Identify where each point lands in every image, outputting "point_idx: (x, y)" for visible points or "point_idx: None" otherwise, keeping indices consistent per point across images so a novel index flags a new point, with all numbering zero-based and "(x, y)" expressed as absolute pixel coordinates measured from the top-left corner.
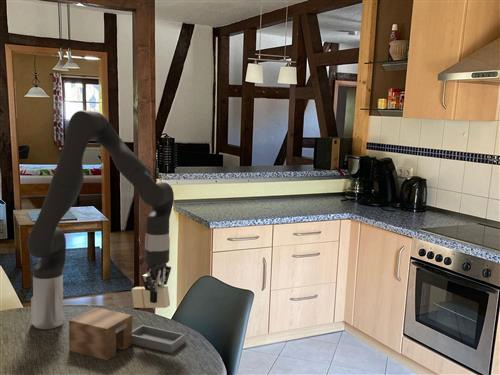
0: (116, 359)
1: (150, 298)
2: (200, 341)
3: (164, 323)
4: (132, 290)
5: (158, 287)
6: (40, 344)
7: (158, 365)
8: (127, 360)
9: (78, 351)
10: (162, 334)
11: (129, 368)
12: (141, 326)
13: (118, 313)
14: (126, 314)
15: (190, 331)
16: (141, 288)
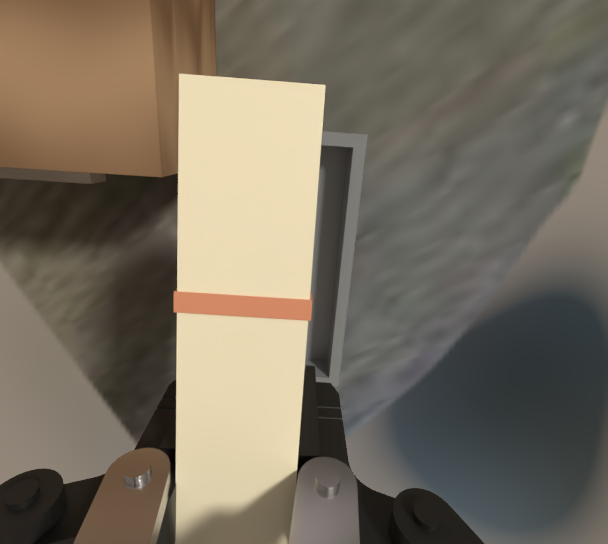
0: (55, 186)
1: (165, 400)
2: (366, 406)
3: (512, 184)
4: (185, 102)
5: (245, 540)
6: None
7: (116, 360)
8: (77, 236)
9: None
10: (337, 270)
11: (31, 280)
12: (344, 143)
13: (125, 36)
14: (146, 124)
15: (449, 337)
16: (207, 274)
